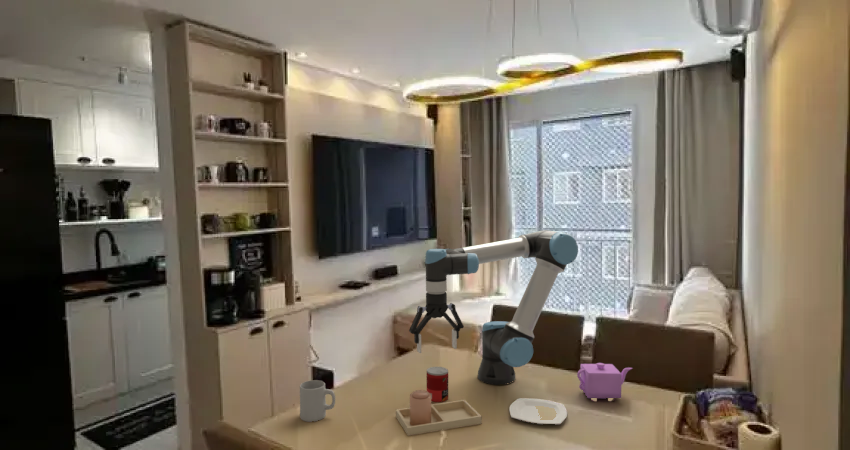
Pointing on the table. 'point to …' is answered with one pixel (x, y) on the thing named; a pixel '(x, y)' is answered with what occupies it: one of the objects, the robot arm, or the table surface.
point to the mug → (314, 400)
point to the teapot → (601, 380)
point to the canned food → (437, 383)
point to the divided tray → (441, 417)
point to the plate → (536, 410)
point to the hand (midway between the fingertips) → (437, 349)
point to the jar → (420, 407)
